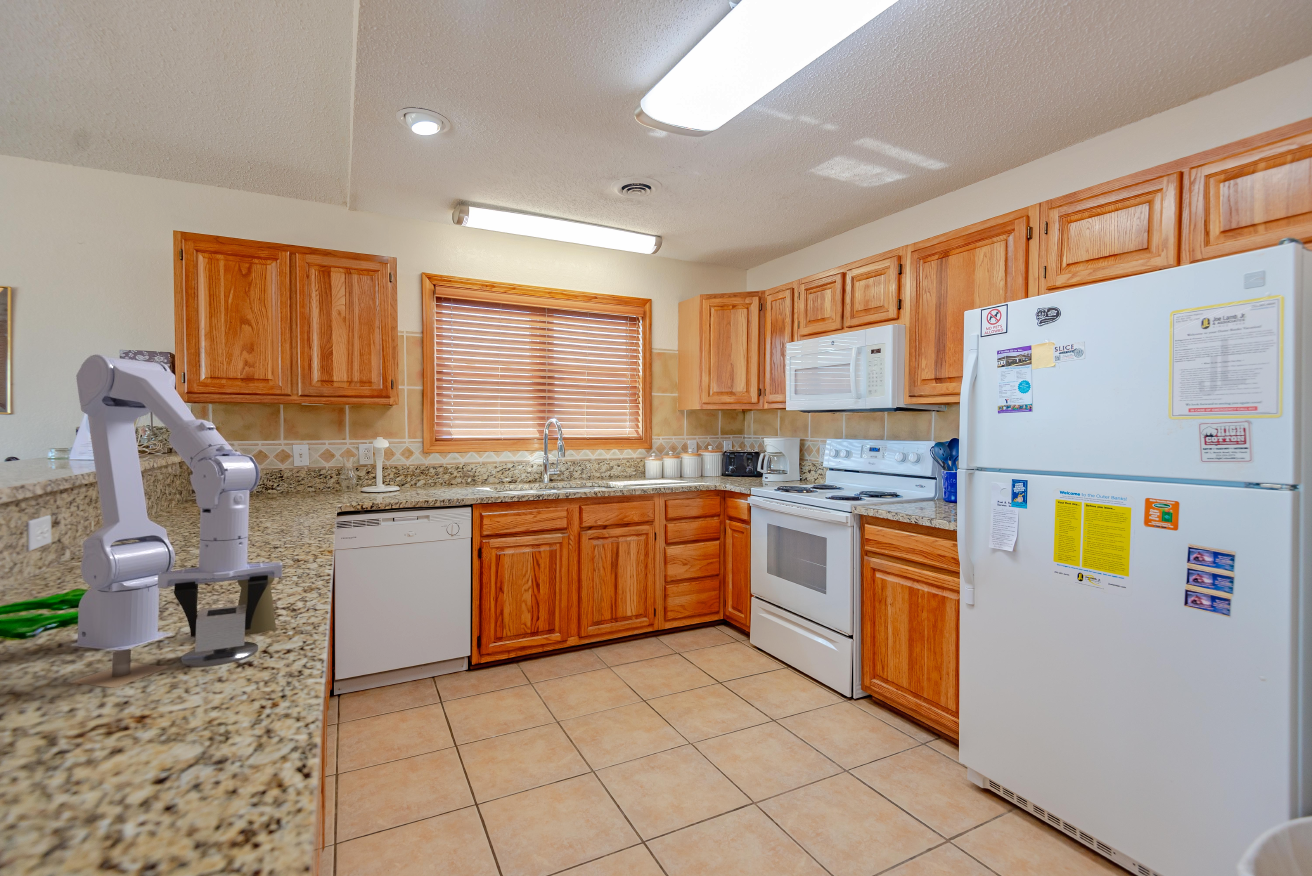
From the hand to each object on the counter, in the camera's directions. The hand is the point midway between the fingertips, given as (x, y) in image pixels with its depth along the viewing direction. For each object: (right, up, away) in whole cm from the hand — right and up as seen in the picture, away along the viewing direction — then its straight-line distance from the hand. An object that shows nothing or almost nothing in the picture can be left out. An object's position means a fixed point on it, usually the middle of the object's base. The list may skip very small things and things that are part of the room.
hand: (221, 631), depth 86 cm
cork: (-3, -4, +12) cm, 13 cm away
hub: (0, -4, 0) cm, 4 cm away
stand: (-8, -4, -8) cm, 12 cm away
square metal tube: (0, -2, 0) cm, 2 cm away
